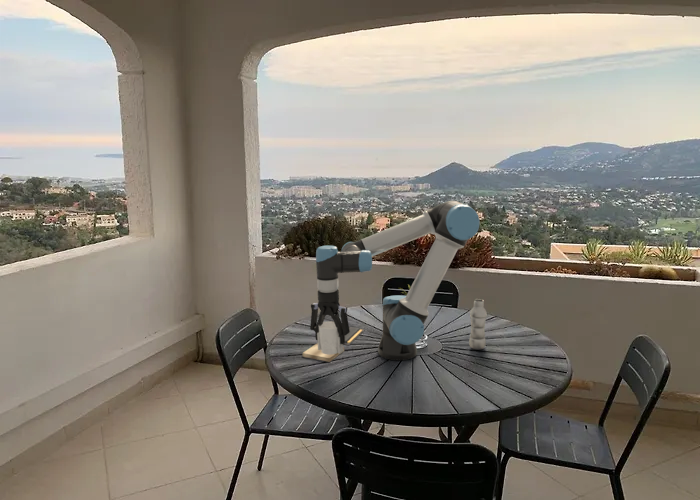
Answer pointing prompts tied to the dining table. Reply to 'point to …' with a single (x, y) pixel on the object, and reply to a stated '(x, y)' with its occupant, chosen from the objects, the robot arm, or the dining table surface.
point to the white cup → (328, 338)
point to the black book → (352, 335)
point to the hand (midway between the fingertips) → (330, 350)
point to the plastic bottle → (478, 325)
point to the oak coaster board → (319, 354)
